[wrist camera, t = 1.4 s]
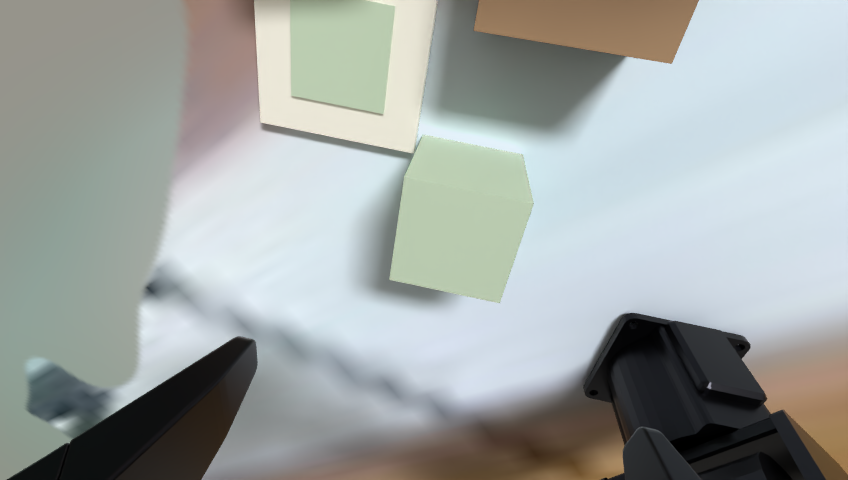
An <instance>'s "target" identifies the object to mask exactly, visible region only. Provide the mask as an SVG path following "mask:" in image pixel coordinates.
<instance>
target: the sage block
mask: <svg viewBox="0 0 848 480" xmlns="http://www.w3.org/2000/svg"><path fill="white" fill-rule="evenodd" d="M533 204H534V203H533V198H532V194H531V189H530V185H529V180H528V176H527V171H526V167H525V162H524V158H523V155H522V154H517V153H512V152H507V151H502V150H497V149H493V148H488V147H483V146H478V145H473V144H468V143H463V142H458V141H453V140H448V139H443V138H438V137H433V136H428V135H423V136H422V138H421V140H420V143H419V145H418V147H417V149H416V152H415V154H414V156H413V158H412V161H411V163H410V165H409V167H408V170H407V172H406V174H405V176H404V182H403V189H402V195H401V202H400V209H399V216H398V223H397V230H396V236H395V243H394V250H393V257H392V264H391V271H390V277H389V280H392V281H397V282H402V283H406V284H411V285H416V286H421V287H425V288H430V289H435V290H440V291H444V292H449V293H454V294H458V295H463V296H468V297H473V298H477V299H482V300H487V301H492V302H496V303H500V301H501V298H502V295H503V292H504V289H505V286H506V283H507V280H508V277H509V274H510V271H511V268H512V266H513V263H514V260H515V257H516V254H517V251H518V248H519V245H520V242H521V239H522V236H523V233H524V230H525V228H526V225H527V222H528V219H529V216H530V213H531V210H532V207H533Z"/></svg>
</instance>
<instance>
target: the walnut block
mask: <svg viewBox="0 0 848 480" xmlns="http://www.w3.org/2000/svg"><path fill="white" fill-rule="evenodd" d="M698 1H699V0H479V3H478V9H477V14H476V20H475V25H474V31H478V32H484V33H490V34H496V35H502V36H508V37H514V38H520V39H526V40H532V41H538V42H544V43H550V44H556V45H562V46H568V47H574V48H580V49H586V50H592V51H598V52H604V53H610V54H616V55H622V56H628V57H634V58H640V59H646V60H652V61H658V62H664V63H670V64H672V62H673V60H674V57H675V55H676V53H677V50H678V48H679V46H680V43H681V41H682V38H683V36H684V34H685V31H686V29H687V27H688V24H689V22H690V20H691V17H692V15H693V13H694V10H695V8H696V6H697V3H698Z"/></svg>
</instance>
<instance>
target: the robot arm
mask: <svg viewBox="0 0 848 480" xmlns="http://www.w3.org/2000/svg"><path fill="white" fill-rule="evenodd" d="M631 322H635V323H633V324H630V323H631ZM738 344H739V345H738ZM749 349H750V343H749V342H748V341H747V339H746V338H745V337H744V336H741V335H737V334H732V333H727V332H722V331H720V330H716V329H711V328H706V327H702V326H697V325H692V324H687V323H683V322H678V321H670V320H665V319H661V318H656V317H651V316H646V315H642V314H637V313H629V314H627V315H625V316H624V317H623V318H622V319H621V321H620V323H619V325H618V326H617V328H616V330H615V332H614V333H613V335H612V337H611V339H610V340H609V342H608V344H607V346H606V348H605V349H604V351H603V353H602V355H601V356H600V358H599V360H598V362H597V363H596V365H595V367H594V369H593V370H592V372H591V374H590V376H589V378H588V379H587V381H586V383H585V385H584V387H583V388H584V392H585V395H586V396H587V397H589V398H593V399H597V400H602V401H606V402H611V403H612V406H613V409H614V412H615V415H616V419H617V422H618V425H619V429H620V432H621V435H622V438H623V442H624V445H625V446H624V449H623V464H624V473H623V474H620V475H617V476H615V477H612V478H609V479H607V478H603V479H601V480H848V475H847V474H846V472H845V471H844V470H843V469H842V467H841V466H840V465H839V464H838V463H837V462H836V461H835V460H834V459H833V458H832V457H831V456H830V455H829V454H828V453H827V452H826V451H825V450H824V449H823V448H822V447H821V446H820V445H819V444H818V443H817V442H816V441H815V440H814V439H813V438H812V437H811V436H810V435H809V434H808V433H807V432H805V431H804V430H803V429H802V428H801V427H800V426H799V425H798V424H797V423H796V422H795V421H794V420H793V419H792V418H791V417H790V416H789V415H788V414H787V413H786V412H785V411H784V410H780V411H778V412H775V413H773V414H770V412H769V411H768V409H767V408H766V406H765V405H764V402H765V401H766V400H767V397H766V395H765V393H764V391H763V390H762V388H761V387H760V385H759V384H758V382H757V381H756V380H755V378H754V377H753V375H752V374H751V372H750V371H749V369H748V368H747V367H746V365H745V364H744V362H743V361H742V358H743V357H744V355H745V354H746V353H747V352H748V351H749ZM256 369H257V349H256V342H255V340H253V339H250V338H246V337H241V336H238V337H235V338H233V339H232V340H230V341H228V342H227V343H225V344H224V345H222V346H220V347H219V348H217V349H216V350H214V351H212V352H211V353H209V354H208V355H206V356H205V357H203V358H201V359H200V360H198V361H197V362H195V363H193V364H192V365H190V366H189V367H187V368H185V369H184V370H182V371H181V372H179V373H177V374H176V375H174V376H173V377H171V378H169V379H168V380H166V381H165V382H163V383H161V384H160V385H158V386H157V387H155V388H154V389H152V390H150V391H149V392H147V393H146V394H144V395H142V396H141V397H139V398H138V399H136V400H134V401H133V402H131V403H130V404H128V405H126V406H125V407H123V408H122V409H120V410H118V411H117V412H115V413H114V414H112V415H111V416H109V417H107V418H106V419H104V420H103V421H101V422H99V423H98V424H96V425H95V426H93V427H91V428H90V429H88V430H87V431H85V432H83V433H82V434H80V435H79V436H77V437H75V438H74V439H72V440H71V442H70V444H69V443H66V444H64V445H62V446H61V447H59V448H58V449H56V450H54V451H53V452H51V453H50V454H48V455H47V456H45V457H43V458H42V459H40V460H38V461H37V462H35V463H33V464H32V465H30V466H28V467H27V468H25V469H23V470H22V471H20V472H19V473H17V474H15V475H14V476H12V477H10V478H9V479H7V480H201V479H202V477H203V476H204V474H205V472H206V470H207V469H208V467H209V465H210V464H211V462H212V460H213V458H214V457H215V455H216V453H217V452H218V450H219V448H220V446H221V445H222V443H223V441H224V439H225V437H226V436H227V434H228V432H229V429H230V427H231V425H232V423H233V421H234V419H235V416H236V414H237V412H238V410H239V408H240V405H241V403H242V401H243V399H244V397H245V394H246V392H247V390H248V388H249V386H250V383H251V381H252V379H253V377H254V375H255V372H256Z"/></svg>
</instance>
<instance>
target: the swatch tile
mask: <svg viewBox="0 0 848 480" xmlns="http://www.w3.org/2000/svg"><path fill="white" fill-rule="evenodd" d="M437 5H438V0H254V8H255V27H256V46H257V65H258V84H259V103H260V122H261V123H266V124H271V125H276V126H281V127H285V128H290V129H295V130H300V131H305V132H310V133H315V134H320V135H325V136H330V137H335V138H340V139H345V140H349V141H354V142H359V143H364V144H369V145H374V146H379V147H384V148H389V149H394V150H399V151H404V152H409V153H414V151H415V147H416V140H417V134H418V127H419V121H420V114H421V108H422V102H423V95H424V89H425V82H426V76H427V70H428V63H429V57H430V50H431V44H432V37H433V31H434V25H435V18H436V12H437Z"/></svg>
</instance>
